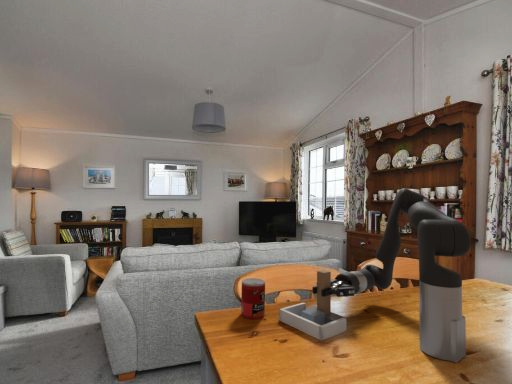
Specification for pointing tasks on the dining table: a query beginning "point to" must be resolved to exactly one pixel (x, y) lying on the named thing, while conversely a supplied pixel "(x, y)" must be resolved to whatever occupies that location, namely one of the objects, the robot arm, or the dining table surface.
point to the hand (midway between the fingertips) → (317, 291)
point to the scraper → (325, 302)
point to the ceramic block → (314, 316)
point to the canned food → (253, 298)
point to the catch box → (310, 323)
